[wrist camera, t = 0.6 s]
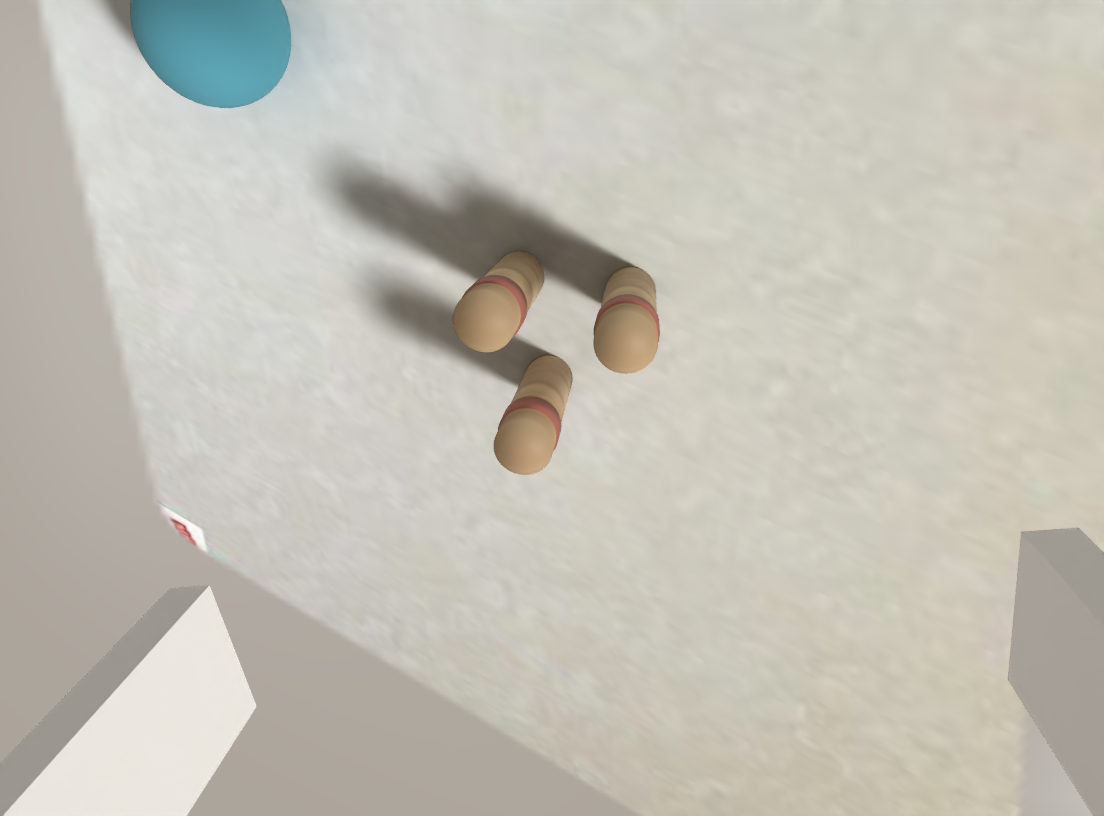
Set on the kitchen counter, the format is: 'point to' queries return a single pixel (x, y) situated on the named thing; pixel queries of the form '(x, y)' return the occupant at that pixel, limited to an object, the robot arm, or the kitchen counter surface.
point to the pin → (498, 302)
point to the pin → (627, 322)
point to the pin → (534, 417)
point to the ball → (214, 47)
